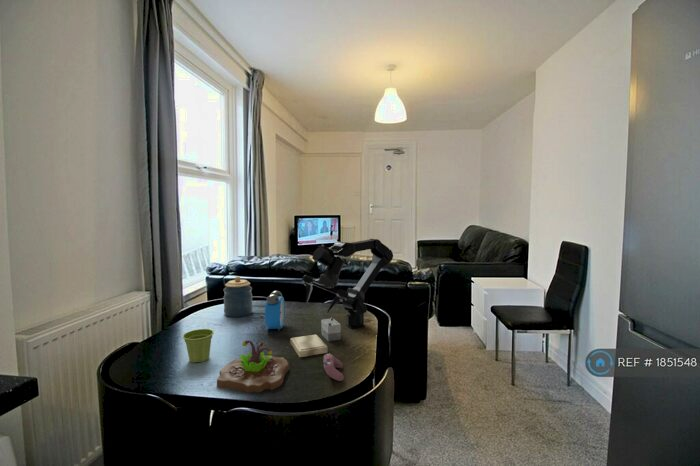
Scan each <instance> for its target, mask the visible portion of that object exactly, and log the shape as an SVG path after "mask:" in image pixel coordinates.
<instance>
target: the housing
mask: <svg viewBox="0 0 700 466" xmlns="http://www.w3.org/2000/svg"><path fill="white" fill-rule="evenodd" d="M320 321H321V330H320V331H321V335H322V337H323V338H324V339H325V340H326V341H327V342H333V341H339V340H341V335H342V334H341V331H342V329H341V323H340V322H338V321H337V320H336V319H335V318H334V317H332V316H331V317H330V318H325V319H321V320H320Z"/></svg>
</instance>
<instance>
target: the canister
mask: <svg viewBox="0 0 700 466" xmlns="http://www.w3.org/2000/svg"><path fill="white" fill-rule="evenodd" d="M224 286H225V287H224V288H223V292H224V296H223V313H224V316H226V317H228V318H239V317H240V318H241V317H246V316H249V315H251V314H252V313H253V294H252V290H253V287H252V286H251V282H249V281H248V280H247V279H242V278H241V277H240V276H235V278H234V279H232V280H231V279H230V280H229V281H227V282H226V283H225V284H224Z"/></svg>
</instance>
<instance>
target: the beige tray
mask: <svg viewBox="0 0 700 466" xmlns="http://www.w3.org/2000/svg"><path fill="white" fill-rule="evenodd" d="M289 340H290V341H289V343H290V346H292V348H293V349H294V351H295V353H296V354H297V356H298V358H303V357H304V358H305V357H309V356H316V355H321V354H329V353H328V352H329V351H328V350H329V347H328V345H327V344H326V343H325V342H324V341H323V340H322V339H321V338H320V337H319V336H318V335H317V334H309V335H303V336H295V337H290V339H289Z"/></svg>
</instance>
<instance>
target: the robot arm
mask: <svg viewBox="0 0 700 466" xmlns="http://www.w3.org/2000/svg"><path fill="white" fill-rule="evenodd" d="M366 250H367V251H368V250H370V254H371V255H372V256H371V263H370V264H369V266H368V267H367V269H366V271H365V272H364V274H363V275H362V276H361V278H360V279H359V281H358V282H357V284H356V285H354V287H353V288H351V287H348V288H347V289H346V290H344V289H342V288H338V289H337V288H335V287H337V286H338V284H339V281H340V278H339V276H340V274H341V270H342V269H343V266H348V265H349V263H348V261H347V258H348V257H351V256H353V255H354V254H355V253H357V252H362V251H366ZM342 257H343V258H342ZM393 258H394V253H393V251H392V250H391V249H390V248H389V247H388V246H386V245H385V243H384V244H383V243H382V241H381V240H380V239H378V238H369V239H364V240H358V241H353V242H350V241H349V242H348V241H335V242H334V244H333V245H331V246H330V247H327V246H326V245H325V244H320V246H319V247H317V248H316V249H315V250H314V251H313V253H312V259H313V261H315V262H316V263H318V264H320V265H322V266H324V267H326V268H325V270H324V272H323V273H321V274H320V276H319V278H318V281H317V280H316V279H315V277H313V276H311V275H308V274H305V275H303V276H302V279H301V281H302V283H303V285H304V286H305V287H306V290H305V291H306V292H305V303H304V304H306V305H307V304H308V302H309V299H310V297H311V294H312V291H313V288H314V287H313V286H315V287H317V288H320V289H323V290H325V291H328V292H330V293H332V294H335V296H334V297H333V300H332V302H331V304H330V305H329V307H328V309H327V314H329V313H330V312H331V311H332V309H333V308H334V307H335V306H336V305H337V304H338V303H340V302H342V303H341V304H342V306H343V308H344V311H347V312H346V313H347V314H346V318H345V321H346V322H345V325H346V326H347V327H349V328H350V329H357V328H365V327H366V325H365V324H364V318H365V317H364V316H365V313H367V312H368V311H367V310H368V307H367V305H366V304H365V303H364V302H365V298H366V297H365V296H366V295H365V294H366V292H367V291H368V290H369V288H370V286H371V285H372V283H373V282H374V280H375V279H376V277H377V275H378V274H379V273H380V271H381V269H383V268H384V267H386V266H388V265H389V264H390V263H391V262H392V261H393Z"/></svg>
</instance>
